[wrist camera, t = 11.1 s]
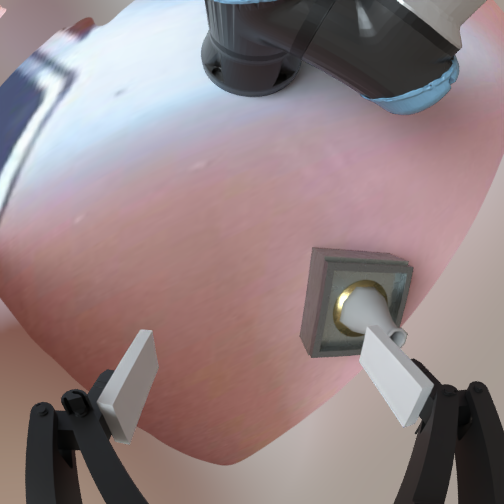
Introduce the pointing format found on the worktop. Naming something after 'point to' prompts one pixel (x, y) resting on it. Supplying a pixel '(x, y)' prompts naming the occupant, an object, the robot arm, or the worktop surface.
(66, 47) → the worktop surface
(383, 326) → the flask
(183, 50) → the worktop surface
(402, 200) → the worktop surface
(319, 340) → the grey boxy piece
